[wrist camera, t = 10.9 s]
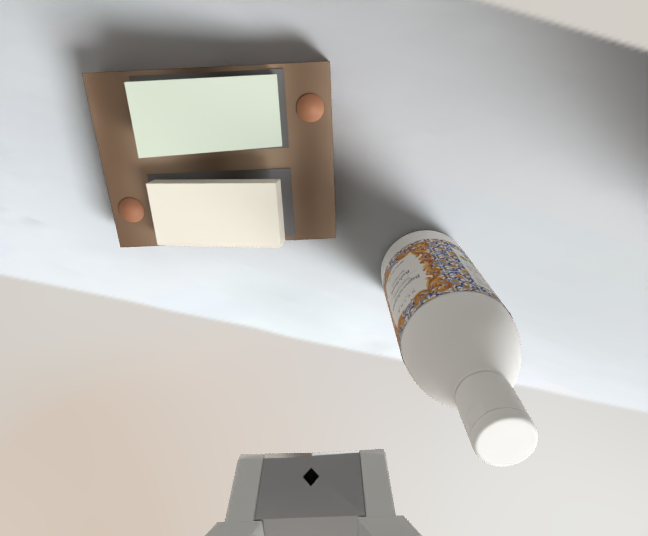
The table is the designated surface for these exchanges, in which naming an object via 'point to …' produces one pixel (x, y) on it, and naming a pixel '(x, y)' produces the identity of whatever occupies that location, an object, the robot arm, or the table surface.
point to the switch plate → (261, 163)
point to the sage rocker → (204, 114)
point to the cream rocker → (217, 212)
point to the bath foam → (459, 342)
